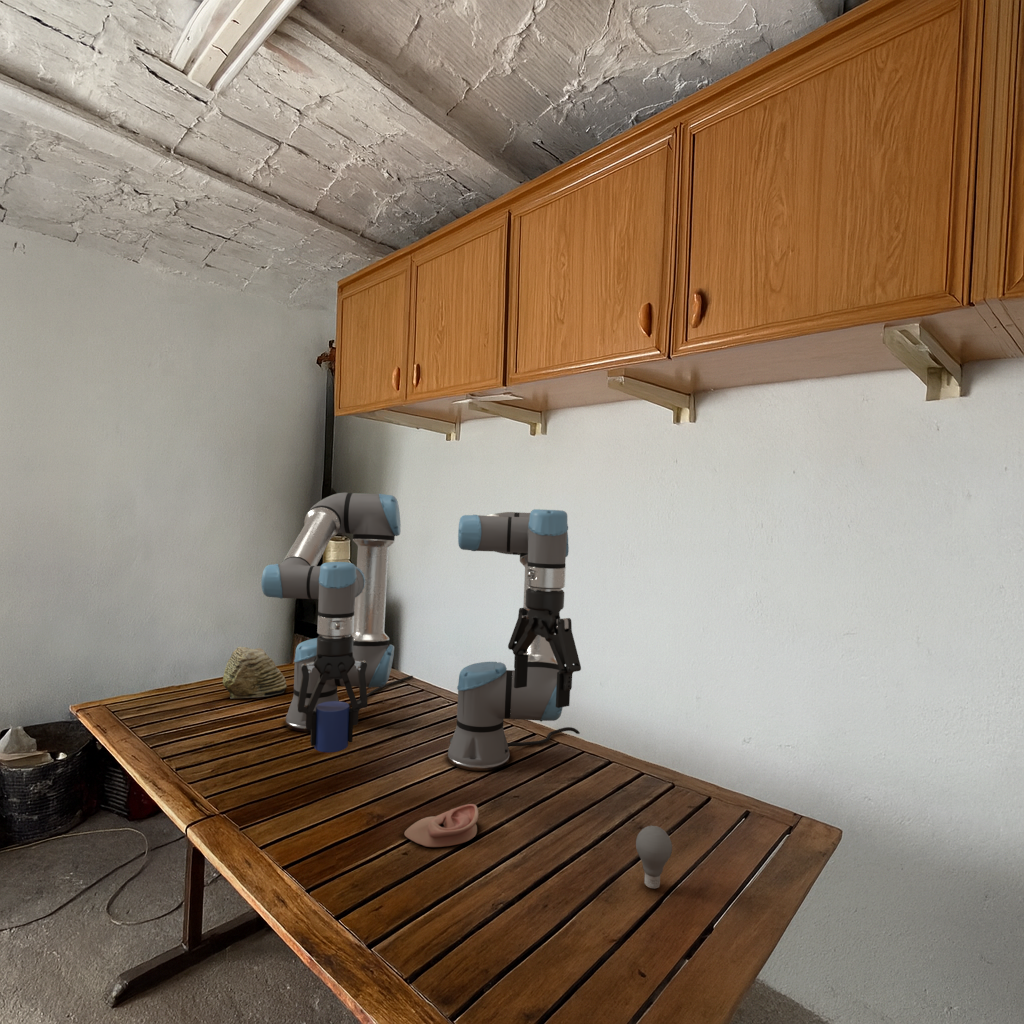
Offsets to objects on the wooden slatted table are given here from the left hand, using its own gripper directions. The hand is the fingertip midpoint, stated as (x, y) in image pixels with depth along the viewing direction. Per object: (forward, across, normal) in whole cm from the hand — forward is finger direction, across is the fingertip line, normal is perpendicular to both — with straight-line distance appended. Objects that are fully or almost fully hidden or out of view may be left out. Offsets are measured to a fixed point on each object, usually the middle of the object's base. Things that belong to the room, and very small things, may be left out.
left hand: (331, 741), depth 136 cm
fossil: (+11, -16, +73) cm, 76 cm away
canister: (+1, 0, 0) cm, 1 cm away
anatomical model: (+11, +19, -23) cm, 31 cm away
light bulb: (+11, +48, -50) cm, 70 cm away
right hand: (-15, +37, -26) cm, 48 cm away
